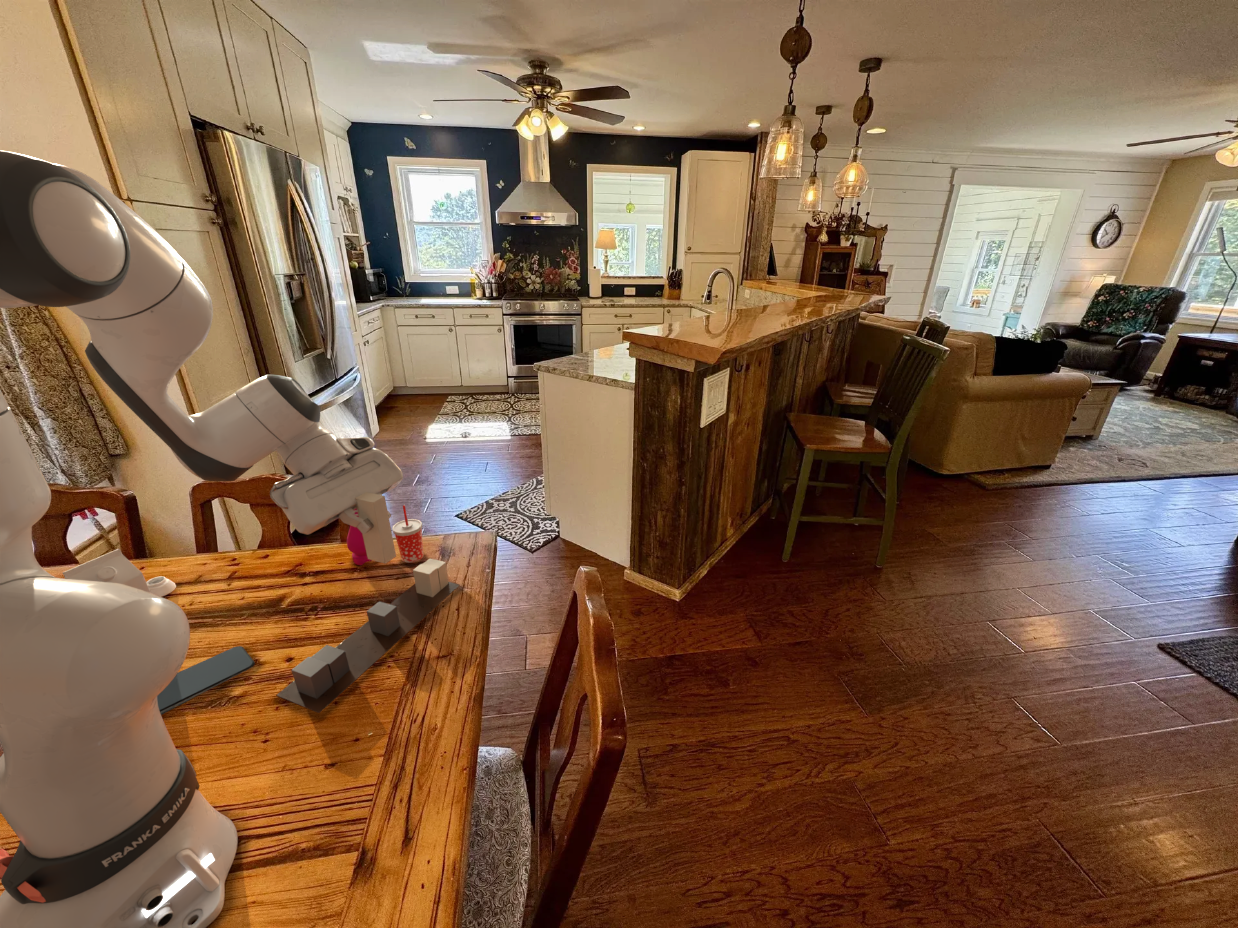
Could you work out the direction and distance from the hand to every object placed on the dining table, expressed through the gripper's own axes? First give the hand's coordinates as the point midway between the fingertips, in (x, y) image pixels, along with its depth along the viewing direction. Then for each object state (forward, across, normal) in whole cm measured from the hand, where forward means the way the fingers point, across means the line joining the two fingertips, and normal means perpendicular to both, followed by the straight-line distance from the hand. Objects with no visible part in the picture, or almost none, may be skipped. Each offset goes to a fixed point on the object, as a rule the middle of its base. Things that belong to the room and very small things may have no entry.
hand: (378, 524), depth 84 cm
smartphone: (+2, -23, +29) cm, 37 cm away
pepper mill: (0, +15, +31) cm, 35 cm away
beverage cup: (+7, +18, +24) cm, 31 cm away
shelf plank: (+15, -4, +16) cm, 22 cm away
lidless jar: (-21, -10, +52) cm, 57 cm away
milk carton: (-10, -22, +41) cm, 48 cm away
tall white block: (+4, 0, +5) cm, 7 cm away
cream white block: (+14, +10, +15) cm, 23 cm away
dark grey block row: (+14, -10, +15) cm, 23 cm away
